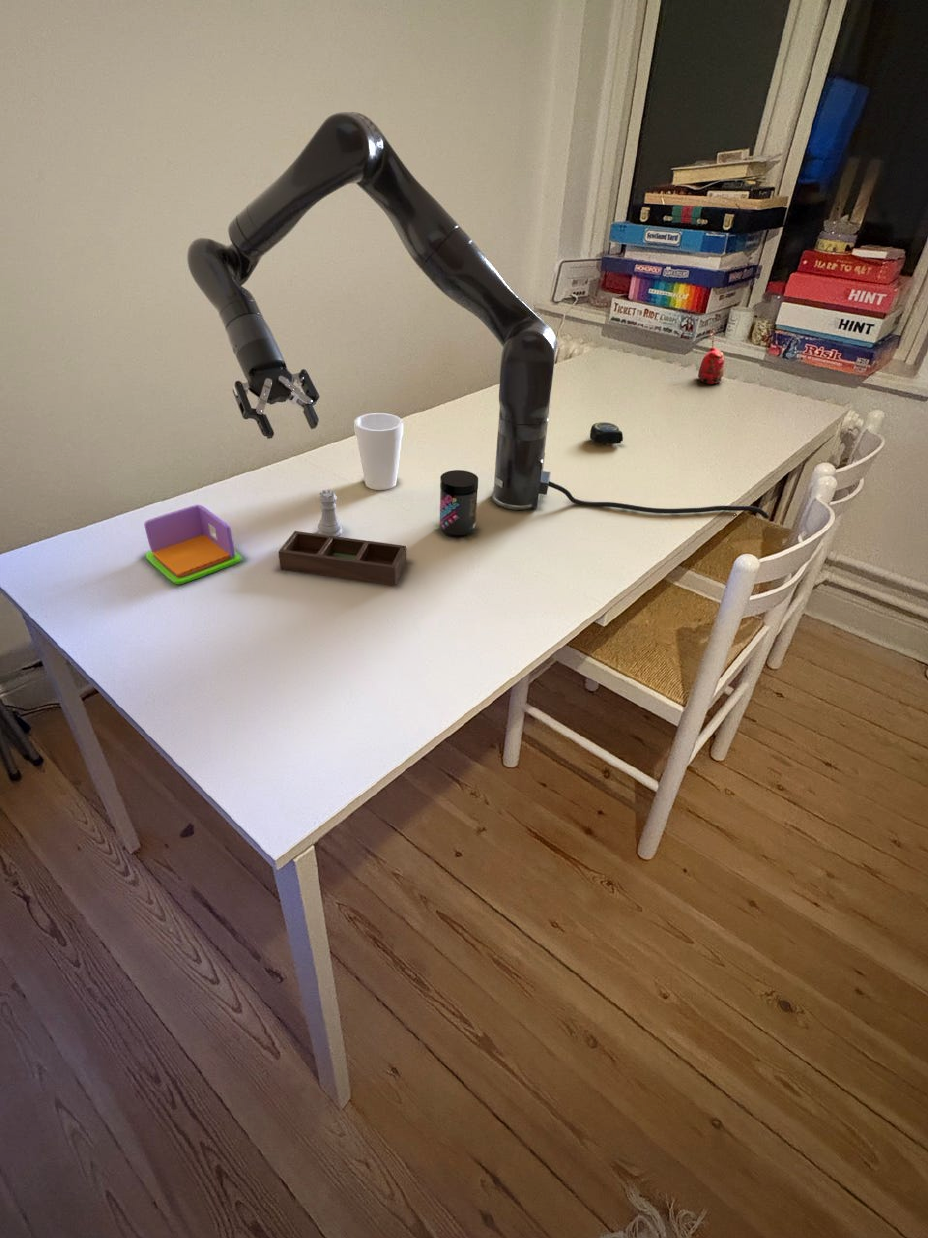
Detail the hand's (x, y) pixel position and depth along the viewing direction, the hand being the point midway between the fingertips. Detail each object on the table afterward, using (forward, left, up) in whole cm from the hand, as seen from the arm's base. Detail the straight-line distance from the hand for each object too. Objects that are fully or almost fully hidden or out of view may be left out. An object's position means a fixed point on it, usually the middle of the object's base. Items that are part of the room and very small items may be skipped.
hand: (293, 431), depth 123 cm
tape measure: (-56, -50, -16) cm, 77 cm away
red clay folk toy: (-85, -107, -16) cm, 138 cm away
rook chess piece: (-8, +7, -16) cm, 19 cm away
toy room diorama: (+11, +21, -16) cm, 28 cm away
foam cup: (-11, -15, -16) cm, 24 cm away
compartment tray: (-14, +17, -15) cm, 27 cm away
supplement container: (-30, 0, -16) cm, 34 cm away
